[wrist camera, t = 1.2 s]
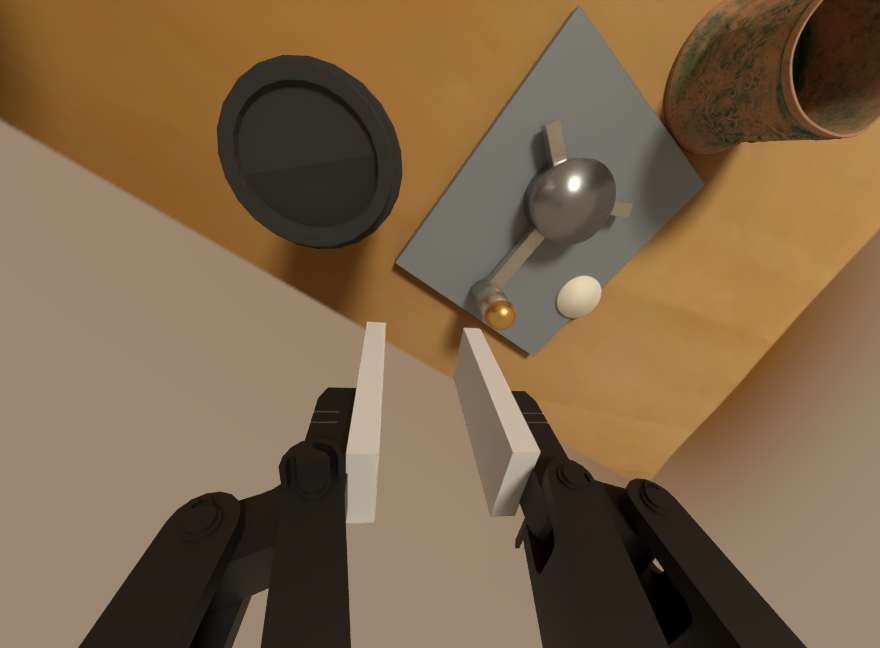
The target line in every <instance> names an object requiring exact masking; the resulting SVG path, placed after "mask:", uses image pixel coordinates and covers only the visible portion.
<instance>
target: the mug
mask: <svg viewBox="0 0 880 648" xmlns="http://www.w3.org/2000/svg"><path fill="white" fill-rule="evenodd" d="M665 118H666V123H667V127H668V130H669V132H670V134H671V136H672V138H673V139H674V141H675V142H676V143H677V144H678V145H679V146H680V147H681V148H683V149H684V150H686V151H688V152H691V153H694V154H715V153H719V152H722V151H725V150H728V149H730V148H732V147H734V146H736V145H737V144H739V143H741V142H749V143H754V142H766V141H786V140H830V139H841V138H849V137H854V136H857V135H859V134H861V133H863V132H864V131H866V130H867V129H868V128H869V127H871V126H872V125H873V124H874V123H875V122H876V121H877V120H878V119H879V118H880V0H724V1H723V2H721V3H720V4H718V5H717V6H716V7H715V8H713V9H712V10H711V11H710V12H709V13H708V14H707V15H706V16H705V17H704V18H703V19H702V20H701V21H700V22H699V23H698V24H697V25H696V27H695V28H694V29H693V31H692V32H691V33H690V35H689V36H688V38H687V39H686V41H685V42H684V44H683V46H682V48H681V49H680V51H679V53H678V55H677V57H676V60H675V62H674V64H673V67H672V70H671V73H670V76H669V80H668V84H667V88H666V95H665Z"/></svg>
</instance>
